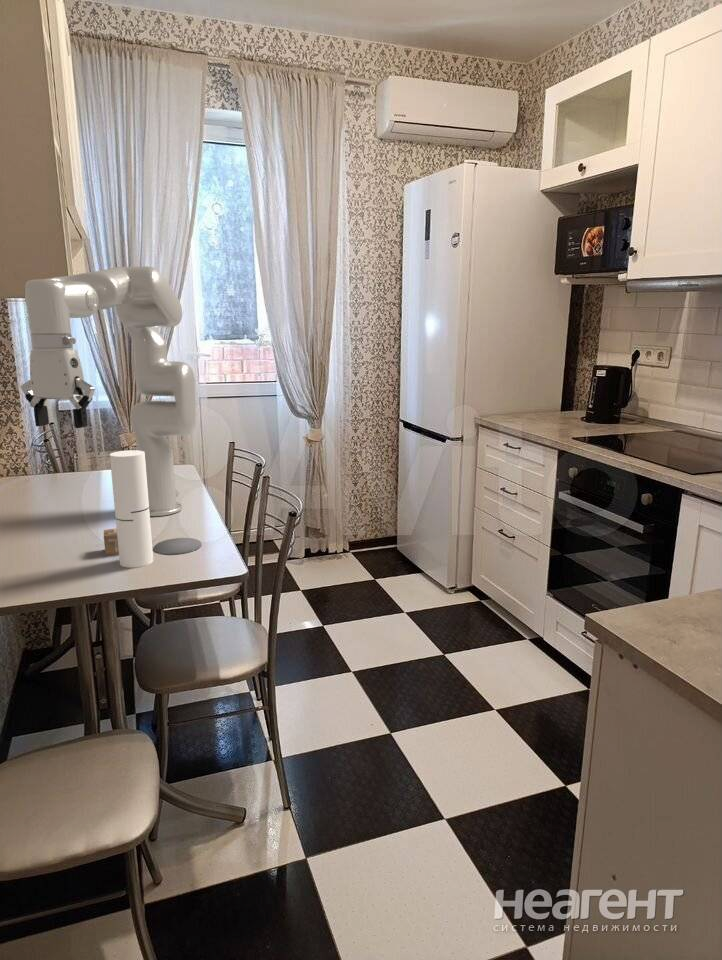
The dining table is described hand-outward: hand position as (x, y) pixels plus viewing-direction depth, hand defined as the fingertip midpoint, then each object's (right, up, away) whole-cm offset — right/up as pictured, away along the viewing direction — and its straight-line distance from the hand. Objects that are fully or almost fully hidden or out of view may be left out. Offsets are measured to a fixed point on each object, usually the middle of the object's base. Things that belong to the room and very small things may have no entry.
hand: (61, 426), depth 134 cm
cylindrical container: (+12, -30, +10) cm, 34 cm away
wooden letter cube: (+5, -28, +17) cm, 33 cm away
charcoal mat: (+19, -27, +20) cm, 39 cm away
